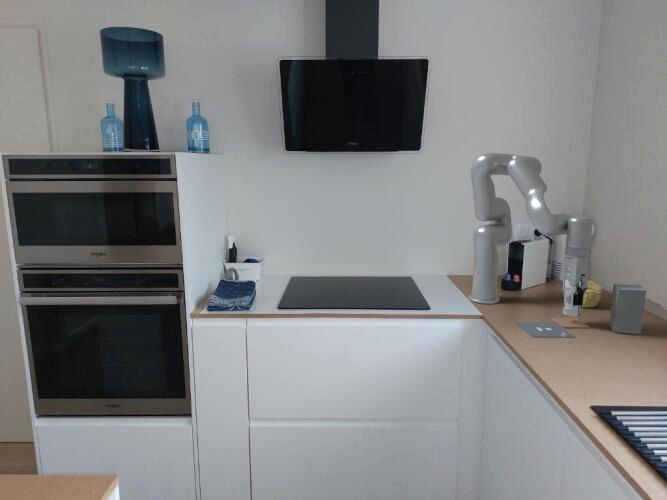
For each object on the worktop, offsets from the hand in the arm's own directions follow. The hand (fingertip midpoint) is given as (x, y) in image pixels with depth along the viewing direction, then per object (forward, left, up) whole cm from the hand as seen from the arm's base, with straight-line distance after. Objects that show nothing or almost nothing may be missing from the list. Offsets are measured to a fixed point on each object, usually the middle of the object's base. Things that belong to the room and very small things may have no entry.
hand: (572, 301), depth 158 cm
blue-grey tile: (+6, -12, -8) cm, 16 cm away
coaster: (0, 0, -8) cm, 8 cm away
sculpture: (-22, +17, -8) cm, 29 cm away
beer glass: (0, 0, -5) cm, 5 cm away
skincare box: (+7, +15, -8) cm, 18 cm away
